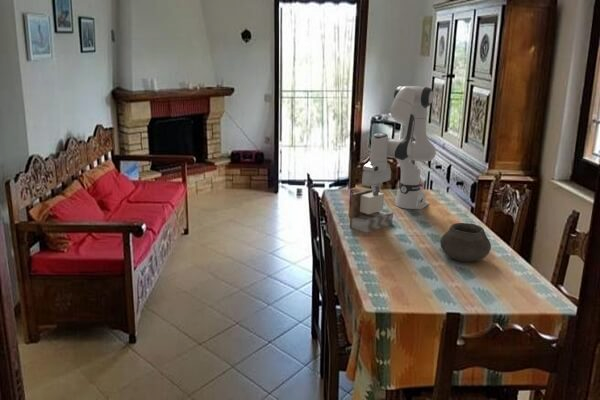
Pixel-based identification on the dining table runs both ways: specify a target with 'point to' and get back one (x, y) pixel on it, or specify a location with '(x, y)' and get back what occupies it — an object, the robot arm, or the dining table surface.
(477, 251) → the clay pot
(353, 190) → the candy box
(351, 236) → the dining table surface
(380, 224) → the wood-topped platform
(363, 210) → the cabinet
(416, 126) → the robot arm
